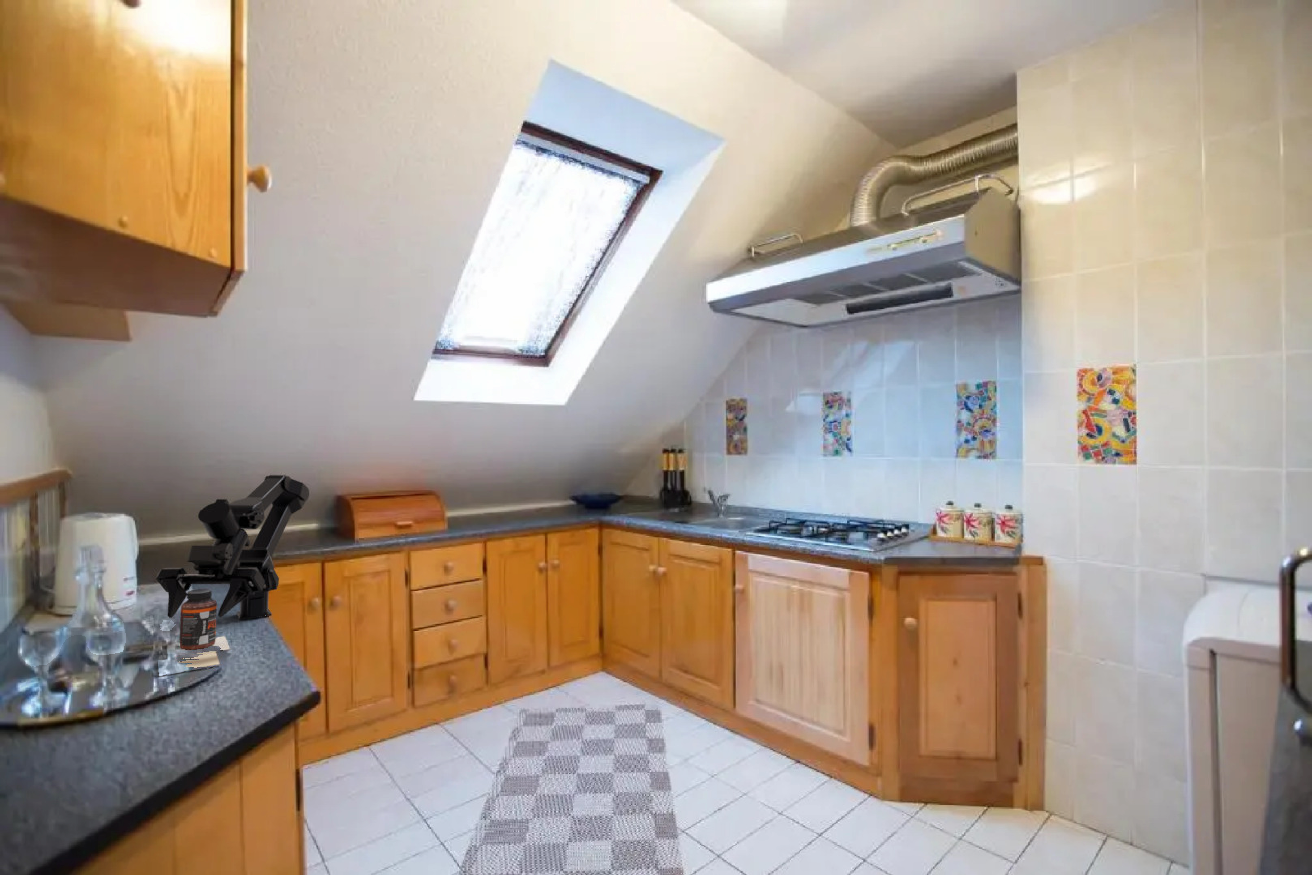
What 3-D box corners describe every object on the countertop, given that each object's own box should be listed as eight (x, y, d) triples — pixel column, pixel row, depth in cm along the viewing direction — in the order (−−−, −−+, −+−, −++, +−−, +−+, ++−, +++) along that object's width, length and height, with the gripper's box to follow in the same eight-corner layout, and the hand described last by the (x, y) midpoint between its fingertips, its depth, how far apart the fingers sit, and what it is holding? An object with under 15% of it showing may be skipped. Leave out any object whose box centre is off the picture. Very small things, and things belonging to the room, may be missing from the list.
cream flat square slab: (165, 645, 129) (165, 644, 129) (225, 636, 135) (225, 635, 135) (167, 659, 121) (167, 658, 121) (230, 649, 127) (230, 648, 127)
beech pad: (157, 662, 119) (157, 659, 119) (215, 653, 125) (215, 650, 125) (158, 676, 112) (158, 673, 112) (219, 666, 118) (219, 663, 118)
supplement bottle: (213, 648, 127) (215, 592, 127) (177, 653, 124) (178, 595, 124) (217, 640, 132) (218, 586, 132) (181, 644, 129) (183, 588, 129)
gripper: (162, 529, 131) (124, 595, 120) (260, 529, 133) (230, 594, 122) (184, 559, 138) (150, 625, 127) (275, 559, 141) (249, 623, 130)
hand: (194, 616), depth 126 cm, fingers open, 9 cm apart
